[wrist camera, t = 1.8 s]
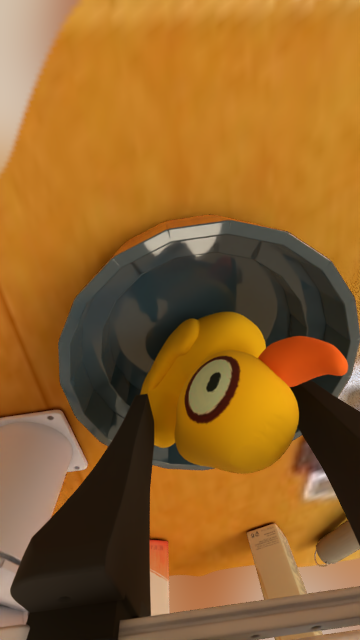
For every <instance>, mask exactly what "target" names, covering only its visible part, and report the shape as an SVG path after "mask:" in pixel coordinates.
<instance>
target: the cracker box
mask: <svg viewBox="0 0 360 640" xmlns="http://www.w3.org/2000/svg"><path fill="white" fill-rule="evenodd" d="M150 597H151V616H155V615H162V614H169V563H168V541H161V540H150Z"/></svg>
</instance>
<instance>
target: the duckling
mask: <svg viewBox="0 0 360 640" xmlns="http://www.w3.org/2000/svg"><path fill="white" fill-rule="evenodd" d="M347 370H348V363H347V360H346V358H345V357H344V356H343V354H342V353H341V352H340V351H339V350H338V349H337V348H336V347H335V346H334V345H332V344H330V343H327V342H324V341H322V340H319V339H315V338H311V337H306V336H293V337H289V338H286V339H282V340H279V341H276V342H274V343H272V344H270V345H269V346H268V347H267V348H266V345H265V340H264V337H263V335H262V333H261V331H260V330H259V328H258V327H257V326H256V325H255V324H254V323H253V322H252V321H250V320H249V319H248V318H246V317H244V316H243V315H241V314H238V313H235V312H219V313H214V314H211V315H207V316H205V317H202V318H200V319H198V320H197V319H193V318H191V319H187V320H185V321H184V322H182V323H181V324H180V325H179V326H178V327H177V328H176V329H175V330H174V331H173V333H172V334H171V335H170V336H169V337H168V339H167V340H166V342H165V343H164V345H163V347H162V348H161V350H160V351H159V353H158V355H157V357H156V359H155V361H154V363H153V365H152V368H151V370H150V371H149V373H148V374H147V376H146V378H145V380H144V382H143V385H142V389H141V393H140V395H141V394H148V398H149V402H150V406H151V410H152V414H153V418H154V445H155V446H158V447H161V448H166V447H169V446H171V445H173V444H174V443H176V447H177V450H178V452H179V454H180V455H181V456H182V457H183V458H184V459H185V460H187V461H189V462H191V463H193V464H196V465H200V466H208V467H212V468H216V469H220V470H223V471H228V472H233V473H241V474H245V473H253V472H257V471H260V470H263V469H265V468H267V467H269V466H271V465H272V464H273V463H275V462H276V461H277V460H278V459H279V458H280V457H281V456H282V455H283V454H284V453H285V451H286V450H287V449H288V447H289V446H290V444H291V442H292V440H293V438H294V435H295V432H296V429H297V426H298V421H299V409H298V404H297V401H296V398H295V396H294V394H293V392H292V390H291V389H290V387H294V386H297V385H299V384H301V383H304V382H306V381H308V380H311V379H313V378H316V377H318V376H322V375H327V374H330V375H335V376H342V375H345V374H346V373H347Z"/></svg>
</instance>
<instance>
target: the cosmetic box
mask: <svg viewBox="0 0 360 640" xmlns="http://www.w3.org/2000/svg"><path fill="white" fill-rule="evenodd" d="M247 536H248V540H249V544H250V548H251V551H252V555H253V559H254V563H255V566H256V570H257V574H258V577H259V581H260V585H261V589H262V593H263V597H264V600H267V599H274V598H281V597H288V596H295V595H302V594H307V592H306V589H305V586H304V584H303V581H302V578H301V576H300V573H299V570H298V568H297V565H296V562H295V560H294V557H293V554H292V552H291V549H290V546H289V544H288V541H287V539H286V537H285V536H284V534H283V533H282V531H281V530H280V529H279V527H278V526H277V525H276V524H275V523H273V524H271V525H268V526H265V527H262V528H258V529H256V530H252V531H249V532H247ZM318 635H323V634H322V631H314V632H307V633H300V634H293V635H286V636H279V637H274V638H275V640H291V639H297V638H304V637H311V636H318Z"/></svg>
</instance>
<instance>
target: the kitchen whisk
mask: <svg viewBox="0 0 360 640" xmlns="http://www.w3.org/2000/svg"><path fill="white" fill-rule="evenodd" d="M359 549H360V546H359V543H358V541H357V539H356V537H355V534H354V532H353V530H352V528H351V525H350V523H349V521H346V522H345V523H343V524H342V525H340V526H339V527H338V528H336V529H335V530H333V531H332V532H330V533H329V534H327V535H326V536H324V537H323V538H322V539H320V540H319V543H317V545H316V551H317V553H318V555H319V557H320V558H321V560H322V561H323V562H324V563H326V565H319V564H318V563H317V562H316V551H315V562H316V564H317V565H319V566H327V564H331V563H332V564H334V563H337V562H338V561H340V560H342V559H343V558H345V557H347V556H349V555H350V554H352V553H354V552H356V551H357V550H359Z"/></svg>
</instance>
